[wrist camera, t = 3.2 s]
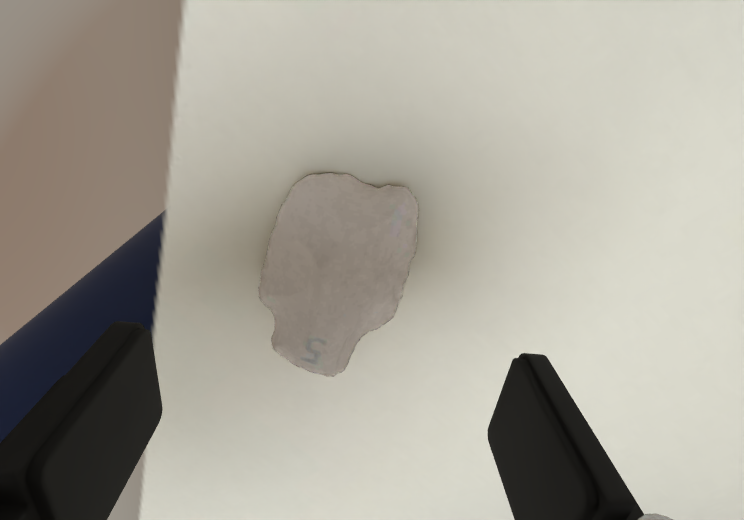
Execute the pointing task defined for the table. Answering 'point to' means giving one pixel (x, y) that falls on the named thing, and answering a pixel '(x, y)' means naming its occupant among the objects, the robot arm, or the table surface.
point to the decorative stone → (336, 267)
